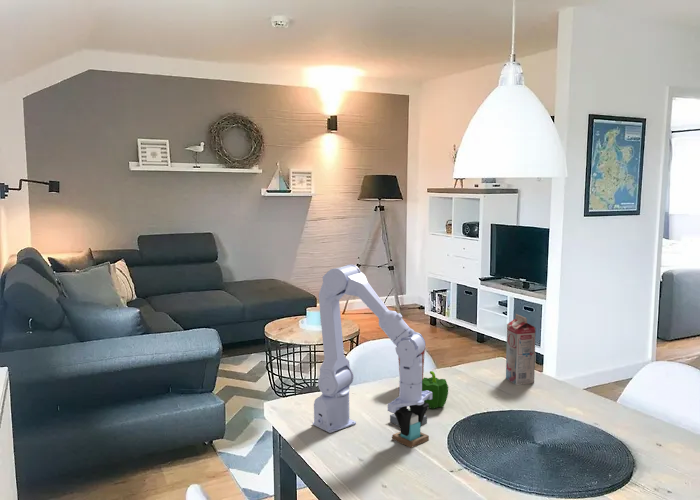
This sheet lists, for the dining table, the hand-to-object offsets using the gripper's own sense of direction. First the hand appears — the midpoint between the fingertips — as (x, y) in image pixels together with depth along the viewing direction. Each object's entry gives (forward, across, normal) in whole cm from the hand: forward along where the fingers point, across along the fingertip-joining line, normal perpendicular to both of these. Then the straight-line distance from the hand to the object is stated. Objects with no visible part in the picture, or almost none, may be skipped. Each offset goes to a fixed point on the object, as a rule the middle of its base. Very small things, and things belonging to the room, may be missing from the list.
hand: (410, 432), depth 152 cm
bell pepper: (+2, +22, +11) cm, 25 cm away
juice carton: (+2, +60, +8) cm, 61 cm away
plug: (+2, 0, 0) cm, 2 cm away
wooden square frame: (+2, 0, 0) cm, 2 cm away
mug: (+2, +27, +25) cm, 37 cm away
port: (+2, +8, +8) cm, 11 cm away
